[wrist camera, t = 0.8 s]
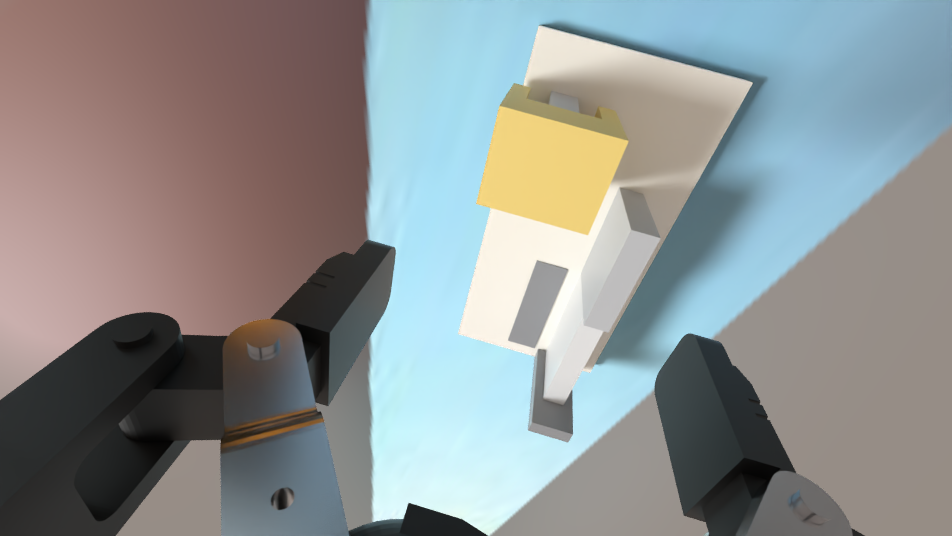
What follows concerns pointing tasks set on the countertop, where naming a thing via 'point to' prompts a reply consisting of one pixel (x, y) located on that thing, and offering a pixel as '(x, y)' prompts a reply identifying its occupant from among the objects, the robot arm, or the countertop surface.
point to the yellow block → (551, 161)
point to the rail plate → (618, 220)
